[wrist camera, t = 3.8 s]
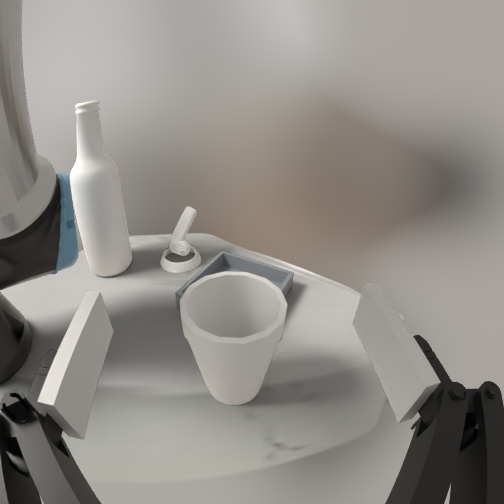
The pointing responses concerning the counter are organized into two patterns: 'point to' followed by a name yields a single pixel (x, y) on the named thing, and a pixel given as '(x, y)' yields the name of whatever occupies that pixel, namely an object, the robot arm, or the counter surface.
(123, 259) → the alcohol
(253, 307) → the foam cup
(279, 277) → the tray
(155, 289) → the counter surface
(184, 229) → the hook
